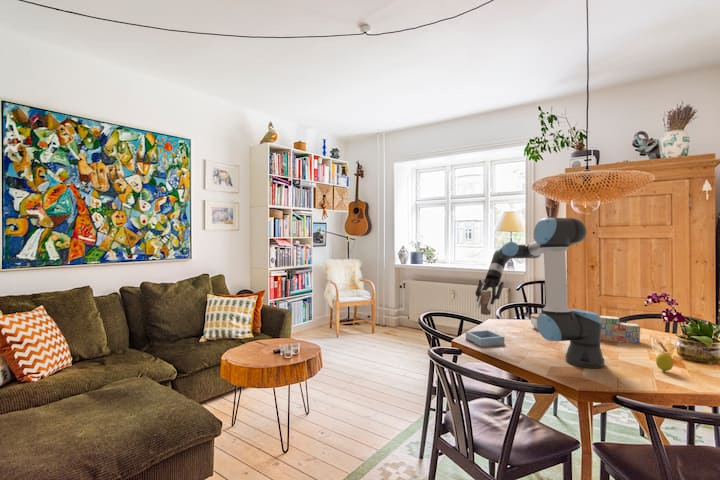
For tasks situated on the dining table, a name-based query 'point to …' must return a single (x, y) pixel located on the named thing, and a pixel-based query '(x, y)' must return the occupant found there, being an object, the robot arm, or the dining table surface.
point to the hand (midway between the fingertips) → (483, 307)
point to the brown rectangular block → (485, 302)
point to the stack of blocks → (619, 330)
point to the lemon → (664, 362)
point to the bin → (485, 338)
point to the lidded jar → (534, 320)
